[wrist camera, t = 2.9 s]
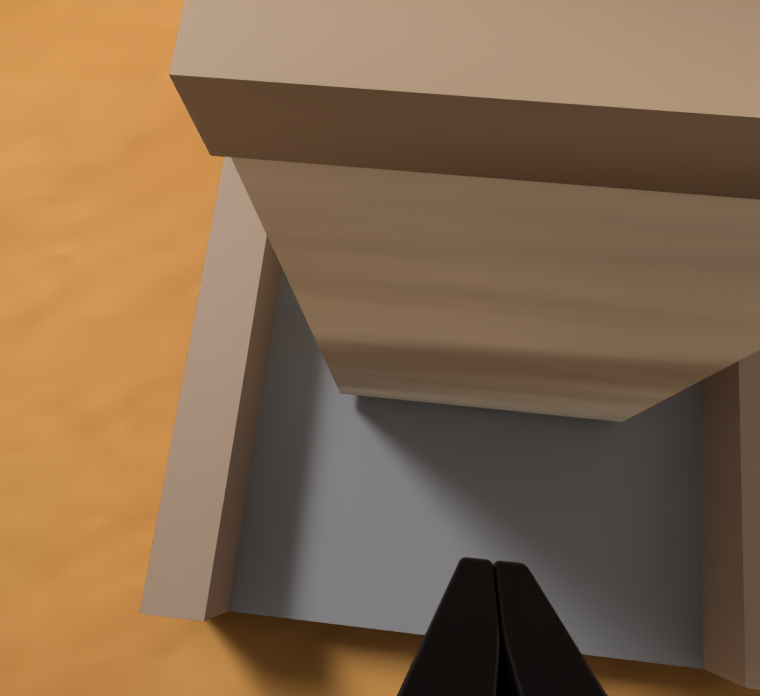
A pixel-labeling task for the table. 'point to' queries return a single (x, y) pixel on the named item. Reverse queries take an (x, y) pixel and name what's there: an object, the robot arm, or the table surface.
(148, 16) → the table surface
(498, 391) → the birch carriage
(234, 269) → the box
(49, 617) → the table surface
